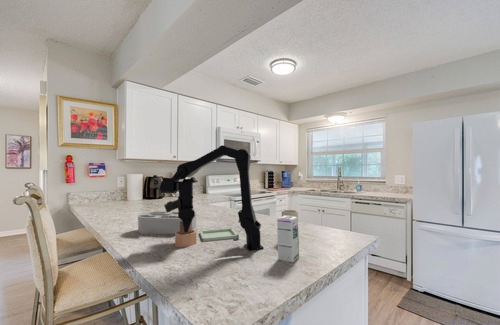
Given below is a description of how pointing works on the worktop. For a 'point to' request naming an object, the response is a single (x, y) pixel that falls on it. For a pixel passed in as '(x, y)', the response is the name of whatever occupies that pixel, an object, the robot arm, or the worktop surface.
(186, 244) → the utensil pot
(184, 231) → the pepper mill
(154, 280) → the worktop surface
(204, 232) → the tray
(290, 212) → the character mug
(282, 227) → the syrup box
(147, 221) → the ice cube tray
